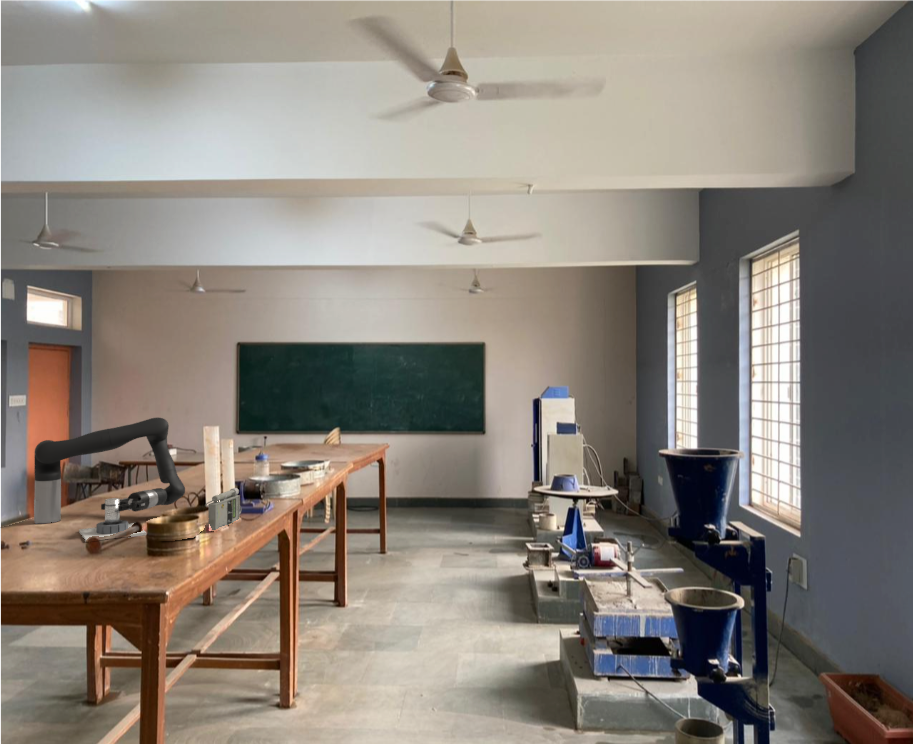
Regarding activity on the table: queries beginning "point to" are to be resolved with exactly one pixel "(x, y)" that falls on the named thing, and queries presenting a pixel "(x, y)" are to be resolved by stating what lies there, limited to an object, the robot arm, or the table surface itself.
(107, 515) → the piston
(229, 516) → the geiger counter
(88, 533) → the ring plate
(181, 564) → the table surface
